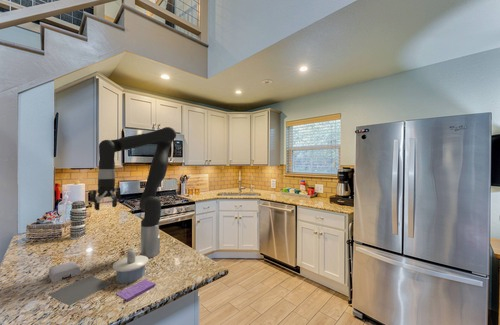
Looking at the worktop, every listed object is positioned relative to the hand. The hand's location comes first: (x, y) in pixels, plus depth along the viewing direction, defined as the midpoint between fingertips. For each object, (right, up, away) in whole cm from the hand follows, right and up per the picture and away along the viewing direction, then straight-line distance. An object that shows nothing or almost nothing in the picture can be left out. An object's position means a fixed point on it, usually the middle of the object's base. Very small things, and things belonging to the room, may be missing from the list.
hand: (106, 208), depth 110 cm
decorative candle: (-44, -28, +36) cm, 64 cm away
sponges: (+30, -29, -25) cm, 49 cm away
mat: (+8, -28, -26) cm, 39 cm away
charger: (-11, -28, -14) cm, 33 cm away
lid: (+22, -22, -16) cm, 35 cm away
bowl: (+22, -28, -16) cm, 39 cm away
